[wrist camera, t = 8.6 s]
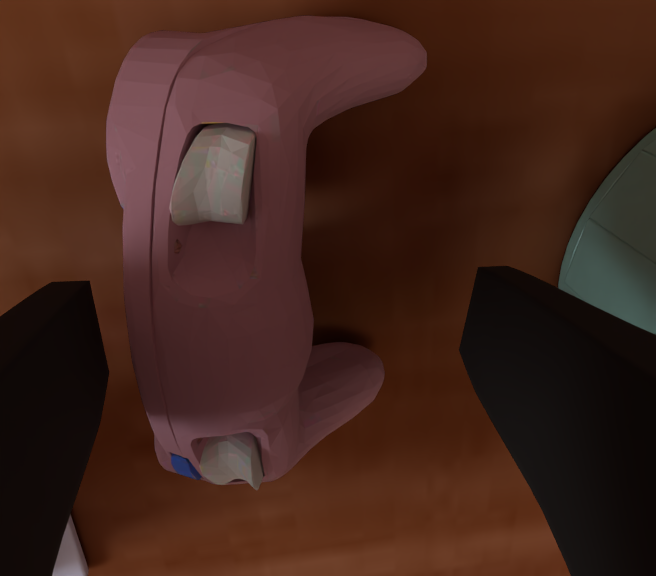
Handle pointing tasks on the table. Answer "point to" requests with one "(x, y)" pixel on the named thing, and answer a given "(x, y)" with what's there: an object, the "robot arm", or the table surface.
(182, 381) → the video game controller
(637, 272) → the pot
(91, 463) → the table surface
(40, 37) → the table surface
